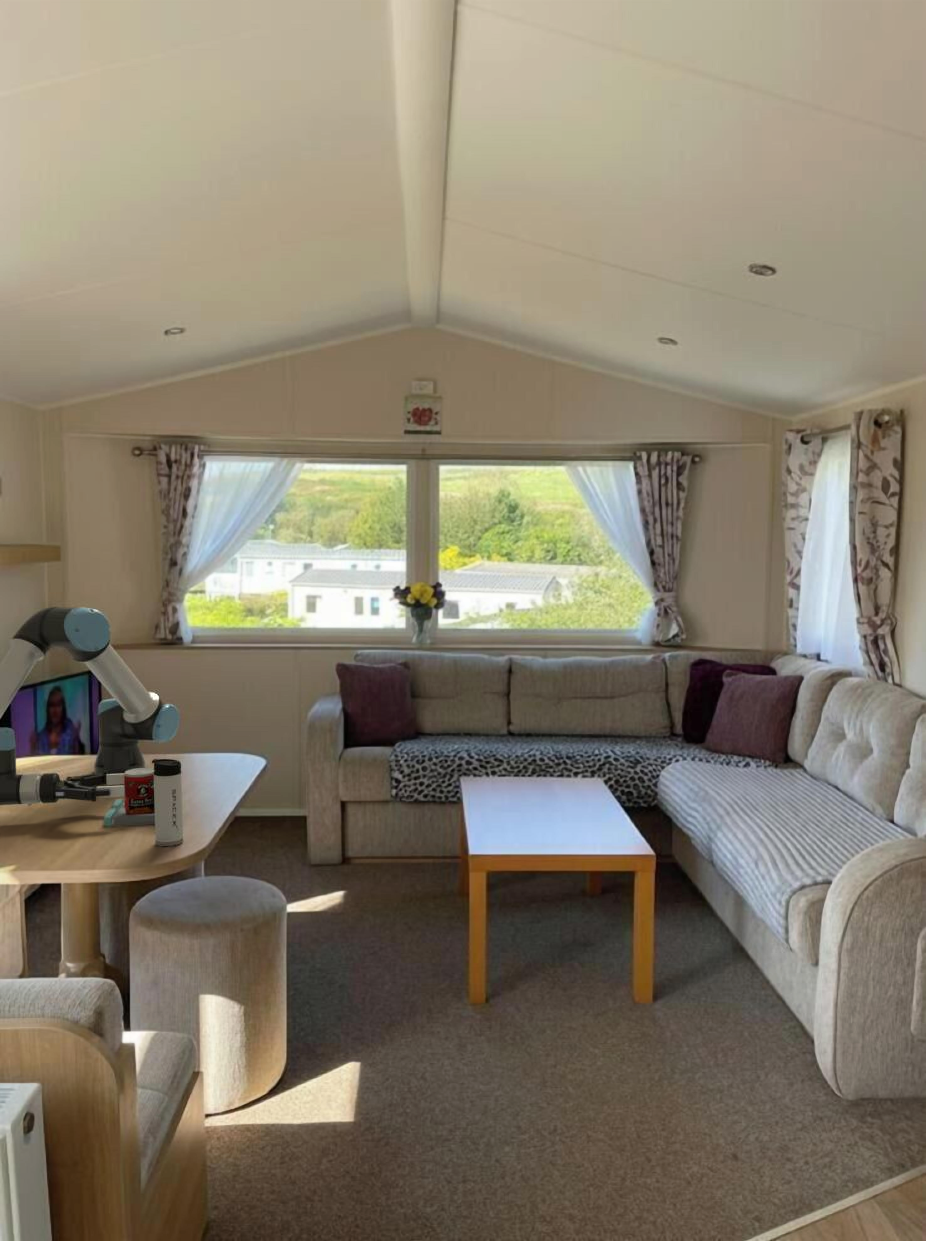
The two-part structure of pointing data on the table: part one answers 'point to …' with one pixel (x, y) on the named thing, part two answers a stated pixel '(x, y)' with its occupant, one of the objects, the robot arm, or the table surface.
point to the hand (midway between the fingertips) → (128, 784)
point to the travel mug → (168, 802)
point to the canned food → (139, 791)
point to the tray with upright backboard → (126, 816)
